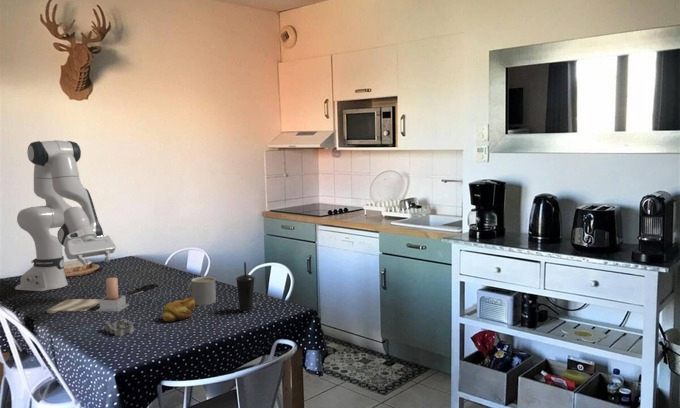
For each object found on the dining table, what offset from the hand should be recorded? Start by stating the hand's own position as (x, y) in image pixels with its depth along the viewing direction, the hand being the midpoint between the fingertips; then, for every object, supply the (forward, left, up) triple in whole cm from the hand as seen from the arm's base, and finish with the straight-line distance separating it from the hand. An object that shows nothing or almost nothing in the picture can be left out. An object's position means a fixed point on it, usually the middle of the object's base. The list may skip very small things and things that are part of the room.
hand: (97, 262), depth 233 cm
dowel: (+9, -7, -17) cm, 21 cm away
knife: (+8, +20, -19) cm, 28 cm away
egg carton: (+23, -33, -19) cm, 44 cm away
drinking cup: (+64, -7, -18) cm, 67 cm away
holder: (+9, -7, -18) cm, 21 cm away
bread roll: (+39, -18, -18) cm, 47 cm away
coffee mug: (+42, +6, -18) cm, 46 cm away
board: (-8, -4, -18) cm, 20 cm away
